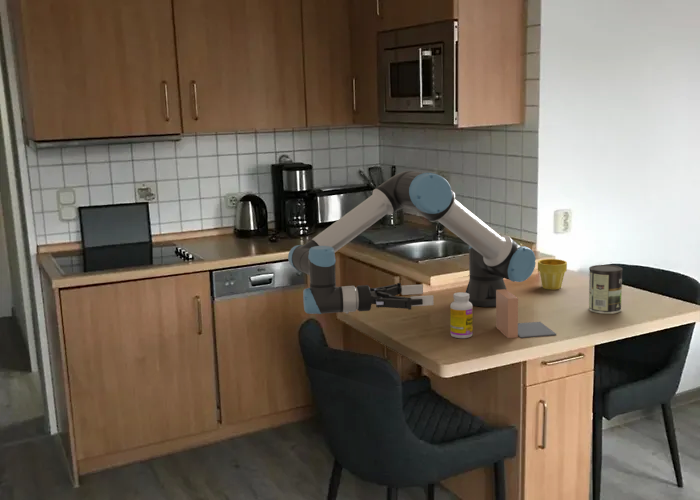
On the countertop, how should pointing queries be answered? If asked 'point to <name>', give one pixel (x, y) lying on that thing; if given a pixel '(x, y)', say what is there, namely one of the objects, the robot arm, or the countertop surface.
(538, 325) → the mat
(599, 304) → the coffee can
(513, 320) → the pink flat block
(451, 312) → the supplement bottle
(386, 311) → the countertop surface
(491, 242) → the robot arm
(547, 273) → the plant pot
